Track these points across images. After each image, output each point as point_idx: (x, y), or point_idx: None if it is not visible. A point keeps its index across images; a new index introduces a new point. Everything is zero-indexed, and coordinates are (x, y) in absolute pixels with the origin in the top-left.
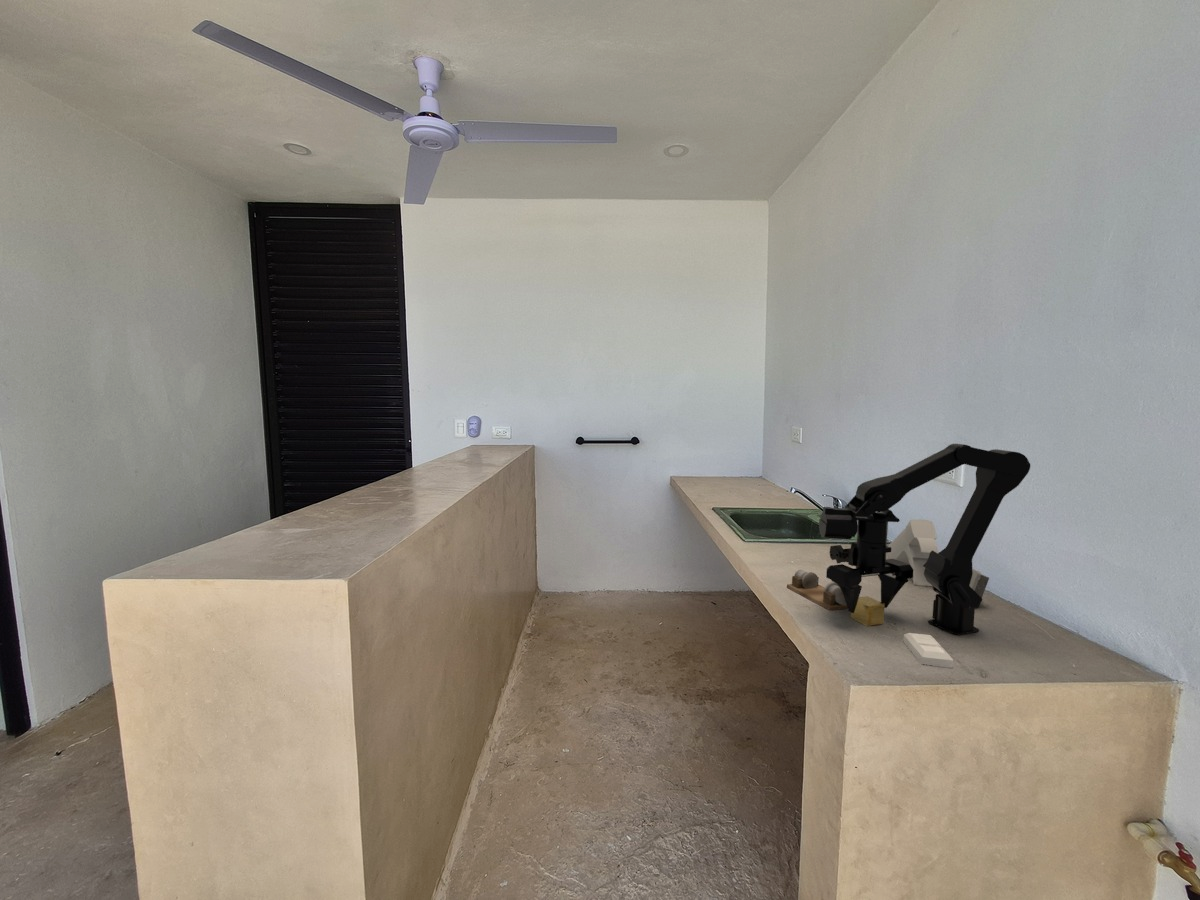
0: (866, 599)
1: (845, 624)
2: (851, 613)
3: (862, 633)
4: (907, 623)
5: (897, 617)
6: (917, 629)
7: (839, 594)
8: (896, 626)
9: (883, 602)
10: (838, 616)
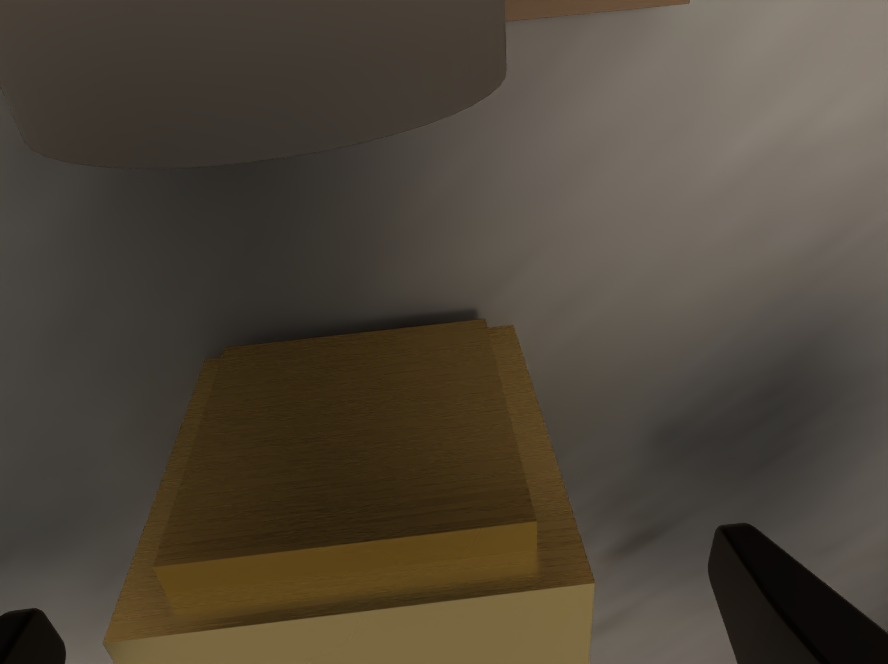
0: None
1: (10, 510)
2: (194, 413)
3: (110, 660)
4: None
5: (840, 433)
6: (724, 636)
7: (29, 145)
8: None
9: (746, 617)
10: (15, 305)
